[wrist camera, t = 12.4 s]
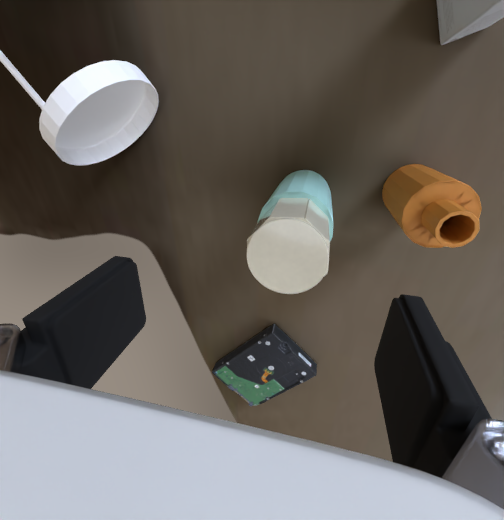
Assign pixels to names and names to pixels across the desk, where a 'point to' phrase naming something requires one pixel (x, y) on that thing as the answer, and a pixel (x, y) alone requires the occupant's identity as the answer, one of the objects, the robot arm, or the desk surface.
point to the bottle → (304, 192)
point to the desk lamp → (94, 110)
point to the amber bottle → (432, 206)
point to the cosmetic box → (466, 17)
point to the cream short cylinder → (290, 246)
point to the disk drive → (265, 366)
